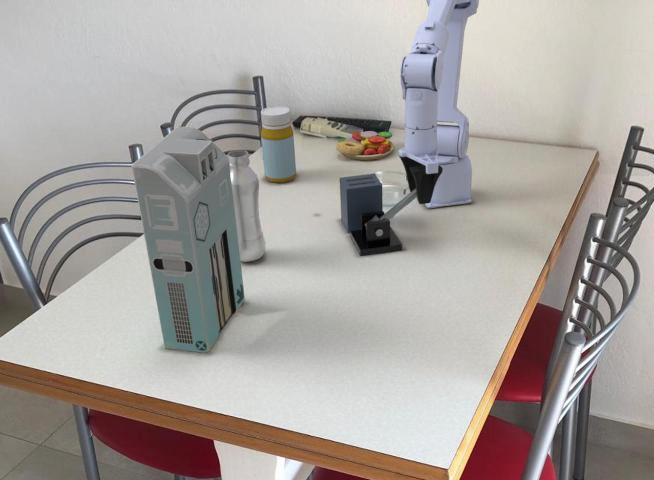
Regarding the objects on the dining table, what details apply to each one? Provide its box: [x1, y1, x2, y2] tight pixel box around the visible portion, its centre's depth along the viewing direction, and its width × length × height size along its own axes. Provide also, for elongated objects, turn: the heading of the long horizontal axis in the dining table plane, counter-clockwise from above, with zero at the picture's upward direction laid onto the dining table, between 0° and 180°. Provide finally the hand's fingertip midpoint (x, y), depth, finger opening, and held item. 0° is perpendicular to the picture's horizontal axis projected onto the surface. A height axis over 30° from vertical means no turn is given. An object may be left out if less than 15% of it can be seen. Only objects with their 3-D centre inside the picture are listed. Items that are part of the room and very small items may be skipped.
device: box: [131, 125, 246, 354], centre depth 133 cm, size 16×8×30 cm, turn 165°
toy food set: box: [335, 130, 395, 161], centre depth 203 cm, size 13×13×3 cm
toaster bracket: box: [349, 210, 403, 257], centre depth 162 cm, size 8×8×5 cm
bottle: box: [260, 105, 297, 184], centre depth 188 cm, size 7×7×15 cm
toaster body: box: [339, 173, 384, 234], centre depth 168 cm, size 7×6×9 cm
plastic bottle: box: [227, 149, 266, 263], centre depth 155 cm, size 6×7×20 cm
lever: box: [365, 189, 417, 226], centre depth 161 cm, size 14×5×2 cm
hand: (420, 197), depth 160 cm, fingers closed on lever, 5 cm apart
